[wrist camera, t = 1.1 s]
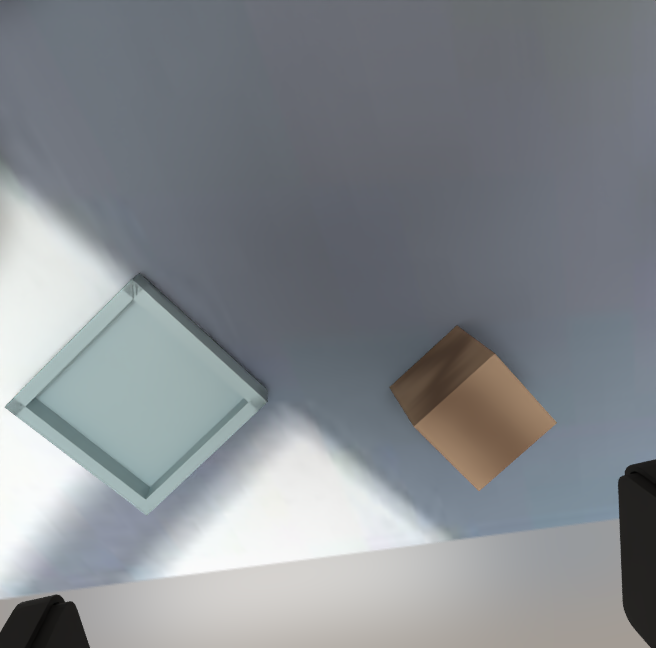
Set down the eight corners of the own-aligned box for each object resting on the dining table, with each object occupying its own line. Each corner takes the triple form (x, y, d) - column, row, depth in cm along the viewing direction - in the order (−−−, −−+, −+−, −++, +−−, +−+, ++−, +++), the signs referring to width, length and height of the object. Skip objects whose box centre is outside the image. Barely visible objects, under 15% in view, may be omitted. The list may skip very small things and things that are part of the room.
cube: (456, 325, 35) (494, 353, 30) (510, 384, 37) (556, 422, 31) (389, 386, 36) (413, 426, 30) (445, 443, 37) (479, 491, 32)
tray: (139, 273, 32) (131, 278, 30) (267, 389, 35) (267, 401, 33) (19, 393, 33) (4, 407, 31) (152, 497, 36) (146, 515, 34)
